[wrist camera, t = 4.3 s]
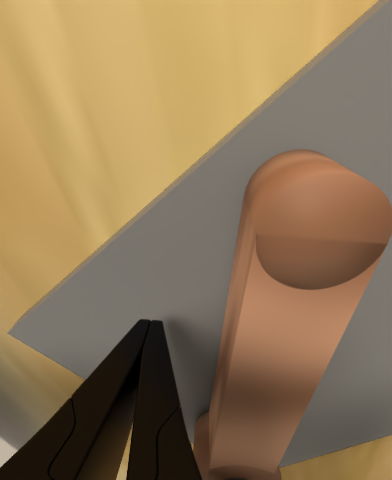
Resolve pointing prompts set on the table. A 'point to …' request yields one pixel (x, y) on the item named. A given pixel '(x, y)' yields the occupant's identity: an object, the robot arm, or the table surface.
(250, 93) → the table surface
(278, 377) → the link
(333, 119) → the board
